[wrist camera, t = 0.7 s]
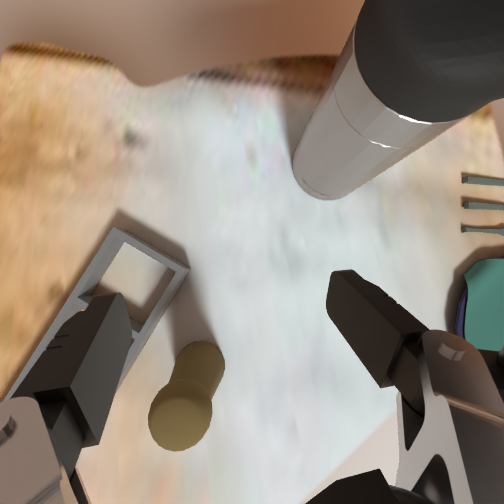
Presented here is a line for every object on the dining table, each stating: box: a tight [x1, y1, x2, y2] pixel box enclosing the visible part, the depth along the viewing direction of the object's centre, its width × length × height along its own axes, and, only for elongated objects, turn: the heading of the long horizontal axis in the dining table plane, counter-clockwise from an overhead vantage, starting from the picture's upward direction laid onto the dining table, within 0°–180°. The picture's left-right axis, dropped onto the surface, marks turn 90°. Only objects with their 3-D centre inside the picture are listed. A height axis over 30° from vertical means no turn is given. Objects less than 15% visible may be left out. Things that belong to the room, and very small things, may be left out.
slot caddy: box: [3, 227, 190, 401], centre depth 28 cm, size 27×10×2 cm, turn 149°
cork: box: [148, 341, 225, 451], centre depth 24 cm, size 6×6×11 cm
